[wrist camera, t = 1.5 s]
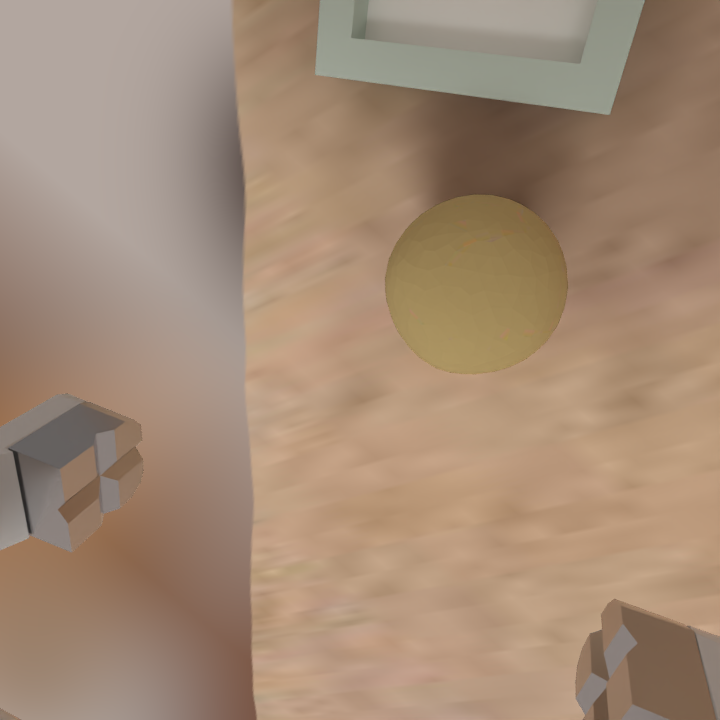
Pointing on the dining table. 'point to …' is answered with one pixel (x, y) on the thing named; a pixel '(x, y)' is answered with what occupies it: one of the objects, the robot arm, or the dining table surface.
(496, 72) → the tray
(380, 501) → the dining table surface
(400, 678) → the dining table surface
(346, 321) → the dining table surface
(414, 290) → the light bulb
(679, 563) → the dining table surface
